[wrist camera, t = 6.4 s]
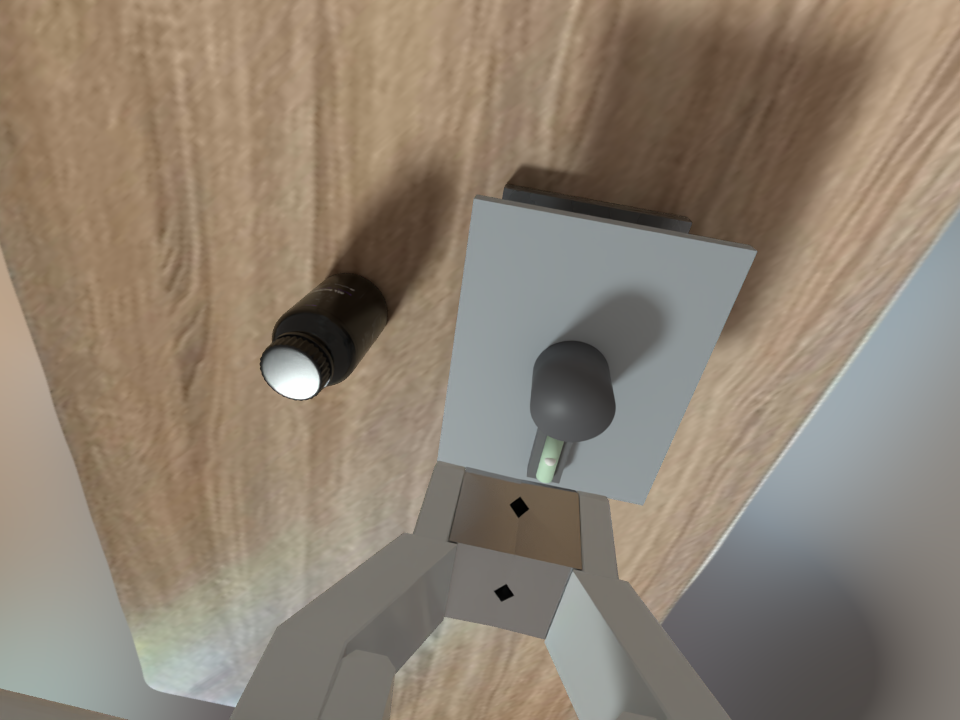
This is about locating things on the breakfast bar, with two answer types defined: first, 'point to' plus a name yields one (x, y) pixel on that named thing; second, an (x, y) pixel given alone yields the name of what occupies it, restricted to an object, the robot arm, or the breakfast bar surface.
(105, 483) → the breakfast bar surface
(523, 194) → the stand
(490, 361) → the plate
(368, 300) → the supplement bottle
